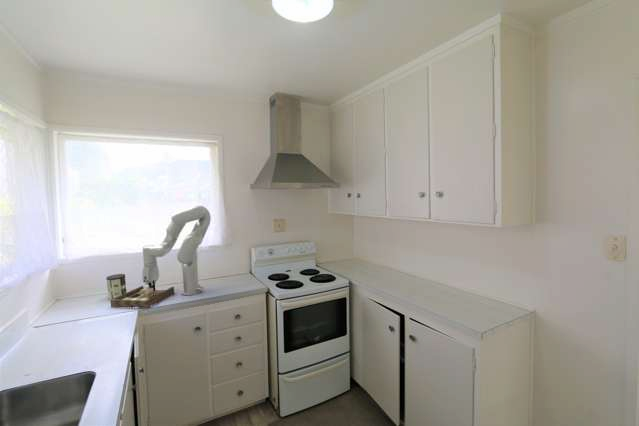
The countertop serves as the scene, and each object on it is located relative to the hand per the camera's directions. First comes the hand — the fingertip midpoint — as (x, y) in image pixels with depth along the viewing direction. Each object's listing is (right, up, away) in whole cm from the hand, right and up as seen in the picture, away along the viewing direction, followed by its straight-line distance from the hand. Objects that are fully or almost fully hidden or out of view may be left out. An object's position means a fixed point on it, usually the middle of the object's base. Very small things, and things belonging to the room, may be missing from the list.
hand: (152, 290), depth 194 cm
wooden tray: (-1, -4, -7) cm, 8 cm away
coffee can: (-23, -4, 0) cm, 23 cm away
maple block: (-1, -1, -5) cm, 5 cm away
